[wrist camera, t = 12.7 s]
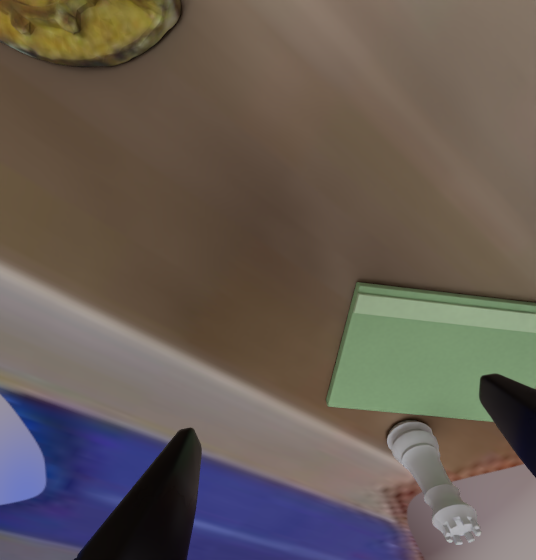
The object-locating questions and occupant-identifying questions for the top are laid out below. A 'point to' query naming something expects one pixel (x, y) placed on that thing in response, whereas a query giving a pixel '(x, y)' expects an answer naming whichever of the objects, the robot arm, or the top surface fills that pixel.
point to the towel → (430, 351)
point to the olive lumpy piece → (86, 28)
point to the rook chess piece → (433, 480)
